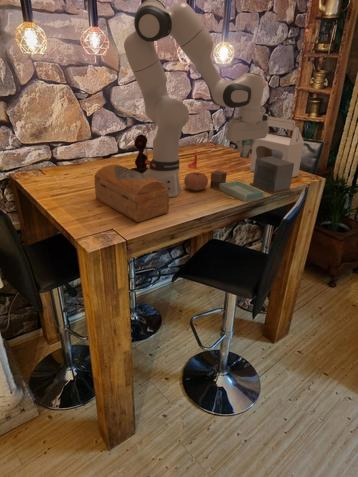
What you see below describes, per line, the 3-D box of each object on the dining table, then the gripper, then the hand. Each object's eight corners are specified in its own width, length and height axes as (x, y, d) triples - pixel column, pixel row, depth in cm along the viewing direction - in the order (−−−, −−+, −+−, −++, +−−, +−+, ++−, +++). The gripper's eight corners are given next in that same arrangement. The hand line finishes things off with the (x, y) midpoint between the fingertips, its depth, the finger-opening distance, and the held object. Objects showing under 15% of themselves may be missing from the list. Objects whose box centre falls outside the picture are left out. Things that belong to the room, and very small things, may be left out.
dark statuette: (155, 181, 170) (155, 139, 161) (125, 181, 170) (123, 138, 161) (157, 172, 183) (157, 133, 174) (128, 172, 183) (127, 132, 174)
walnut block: (218, 189, 162) (219, 174, 159) (210, 187, 165) (211, 172, 162) (225, 187, 165) (226, 172, 162) (217, 184, 168) (218, 170, 165)
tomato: (209, 187, 165) (210, 170, 161) (204, 194, 156) (205, 177, 152) (187, 184, 167) (188, 168, 164) (181, 191, 158) (181, 174, 155)
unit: (273, 195, 157) (277, 166, 151) (249, 184, 169) (252, 158, 164) (292, 191, 163) (297, 163, 157) (268, 181, 175) (272, 155, 169)
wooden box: (171, 212, 137) (172, 177, 130) (135, 223, 127) (134, 186, 121) (128, 191, 157) (127, 160, 151) (95, 199, 147) (92, 166, 141)
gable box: (249, 170, 192) (255, 116, 179) (263, 166, 200) (271, 114, 187) (284, 180, 177) (293, 122, 165) (298, 175, 185) (308, 120, 172)
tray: (244, 202, 148) (245, 195, 147) (219, 189, 162) (219, 183, 161) (264, 198, 153) (264, 191, 152) (237, 186, 167) (238, 180, 166)
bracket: (188, 163, 202) (188, 149, 198) (196, 163, 202) (196, 149, 198) (188, 169, 191) (188, 154, 187) (196, 169, 191) (197, 155, 187)
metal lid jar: (243, 158, 150) (245, 141, 147) (237, 156, 153) (239, 139, 150) (251, 157, 152) (253, 140, 149) (244, 155, 155) (246, 139, 152)
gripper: (234, 118, 138) (230, 154, 144) (272, 116, 147) (267, 149, 154) (224, 116, 142) (221, 150, 148) (261, 114, 152) (257, 146, 158)
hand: (244, 150), depth 151 cm, fingers closed on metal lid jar, 4 cm apart
